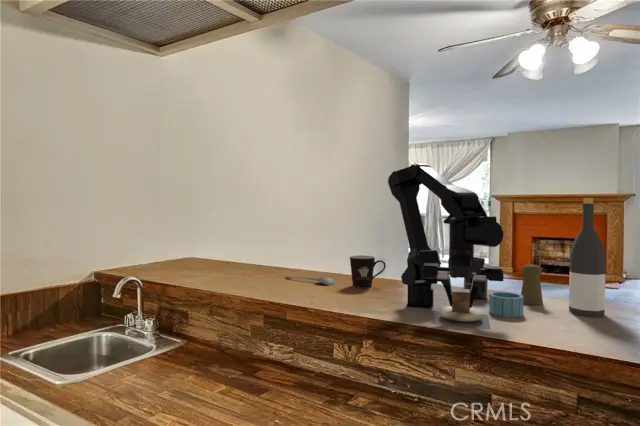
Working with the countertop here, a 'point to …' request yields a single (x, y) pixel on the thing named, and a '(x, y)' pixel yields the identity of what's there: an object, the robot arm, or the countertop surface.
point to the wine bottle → (587, 269)
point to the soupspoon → (322, 280)
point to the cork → (532, 285)
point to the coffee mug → (363, 270)
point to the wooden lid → (461, 307)
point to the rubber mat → (461, 322)
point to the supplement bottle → (483, 288)
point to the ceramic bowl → (506, 304)
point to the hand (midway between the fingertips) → (460, 307)
